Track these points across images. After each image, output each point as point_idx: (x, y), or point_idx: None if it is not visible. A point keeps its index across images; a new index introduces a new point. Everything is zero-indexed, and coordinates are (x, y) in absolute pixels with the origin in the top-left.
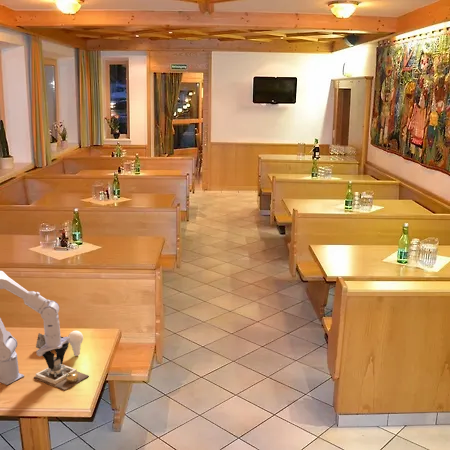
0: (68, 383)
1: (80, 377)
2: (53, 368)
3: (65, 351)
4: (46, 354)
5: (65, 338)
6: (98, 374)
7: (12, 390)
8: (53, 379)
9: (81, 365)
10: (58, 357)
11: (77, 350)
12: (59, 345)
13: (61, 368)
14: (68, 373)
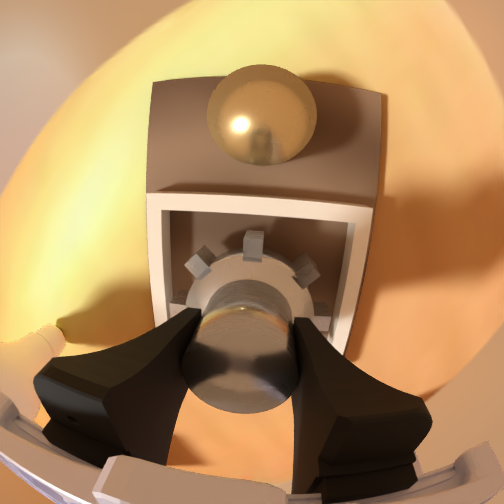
0: None
1: (197, 108)
2: (291, 318)
3: (98, 352)
4: (414, 456)
5: (3, 460)
6: (111, 69)
7: (450, 358)
8: (353, 238)
9: (85, 244)
10: (193, 369)
11: (39, 338)
12: None
13: (225, 280)
14: (259, 158)
